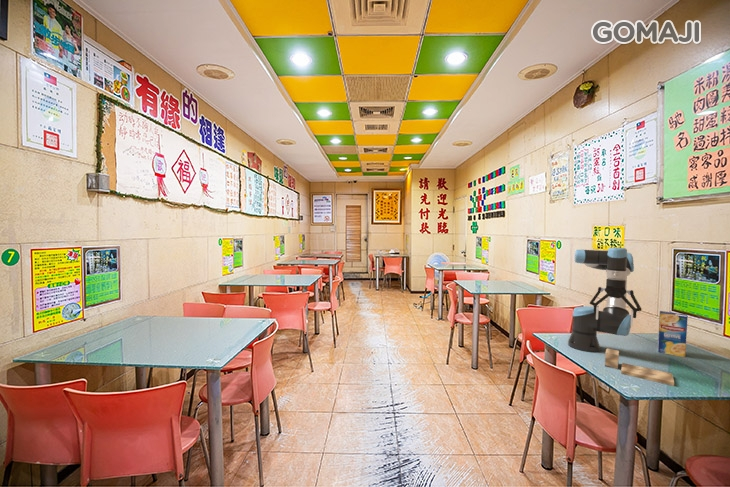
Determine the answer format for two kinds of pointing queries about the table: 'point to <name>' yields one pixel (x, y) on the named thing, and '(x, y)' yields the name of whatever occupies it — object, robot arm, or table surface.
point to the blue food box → (672, 333)
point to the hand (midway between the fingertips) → (613, 321)
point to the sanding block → (611, 358)
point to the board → (647, 374)
